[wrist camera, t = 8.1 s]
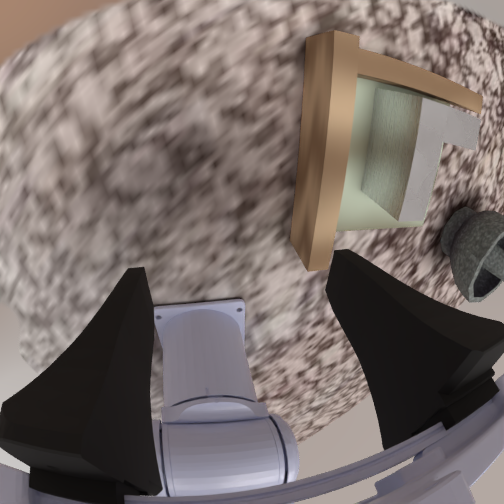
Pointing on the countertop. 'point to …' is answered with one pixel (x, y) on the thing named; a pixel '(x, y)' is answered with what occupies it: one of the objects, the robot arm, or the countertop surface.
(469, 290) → the mortar and pestle
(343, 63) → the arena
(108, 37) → the countertop surface
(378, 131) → the bracket
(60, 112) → the countertop surface
